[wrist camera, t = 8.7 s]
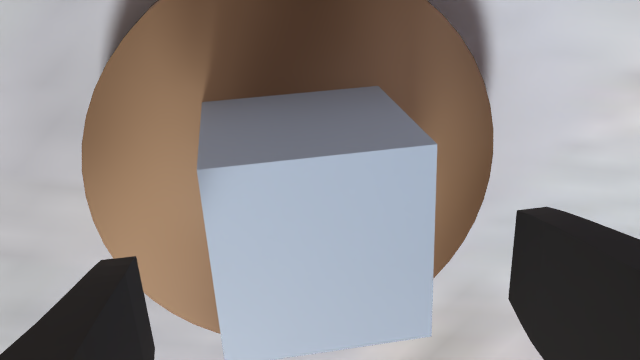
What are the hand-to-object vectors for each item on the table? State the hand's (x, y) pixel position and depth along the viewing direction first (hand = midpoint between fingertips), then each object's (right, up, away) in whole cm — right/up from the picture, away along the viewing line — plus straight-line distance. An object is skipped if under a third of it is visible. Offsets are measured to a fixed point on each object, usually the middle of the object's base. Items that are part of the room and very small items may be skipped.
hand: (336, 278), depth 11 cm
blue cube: (-1, +2, +5) cm, 5 cm away
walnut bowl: (-1, +3, +7) cm, 7 cm away
